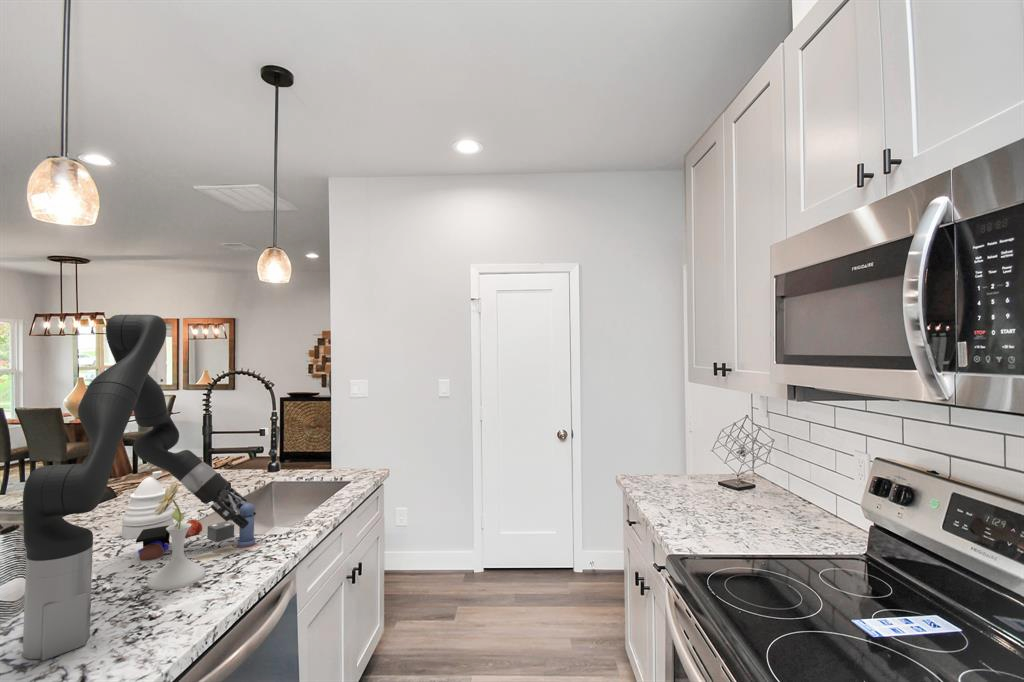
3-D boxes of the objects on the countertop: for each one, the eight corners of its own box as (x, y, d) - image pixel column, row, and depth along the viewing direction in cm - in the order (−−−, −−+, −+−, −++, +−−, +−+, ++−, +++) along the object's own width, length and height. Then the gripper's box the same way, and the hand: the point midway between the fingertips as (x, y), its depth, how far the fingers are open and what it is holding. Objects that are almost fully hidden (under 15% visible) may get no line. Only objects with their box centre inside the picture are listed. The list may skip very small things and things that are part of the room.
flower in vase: (156, 579, 120) (159, 475, 121) (210, 572, 124) (212, 471, 125) (137, 604, 108) (140, 488, 108) (197, 595, 112) (200, 483, 113)
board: (264, 550, 138) (264, 544, 138) (202, 570, 125) (202, 564, 125) (248, 544, 143) (249, 538, 143) (187, 562, 130) (188, 557, 130)
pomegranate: (186, 541, 150) (169, 532, 144) (198, 523, 153) (182, 514, 147) (201, 545, 148) (184, 536, 142) (212, 527, 151) (196, 517, 146)
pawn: (258, 544, 139) (259, 502, 139) (242, 549, 135) (243, 506, 136) (250, 540, 141) (250, 500, 142) (234, 545, 138) (235, 503, 138)
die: (233, 541, 145) (234, 523, 145) (215, 547, 140) (216, 528, 141) (225, 538, 147) (225, 520, 148) (207, 543, 143) (207, 525, 143)
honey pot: (171, 522, 162) (173, 466, 163) (174, 532, 152) (176, 473, 153) (121, 530, 155) (123, 472, 155) (121, 542, 144) (123, 479, 145)
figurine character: (141, 555, 139) (133, 568, 126) (142, 526, 140) (134, 536, 127) (170, 550, 142) (165, 562, 129) (171, 522, 143) (167, 532, 130)
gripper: (207, 478, 130) (255, 518, 133) (223, 467, 144) (265, 503, 146) (184, 500, 128) (232, 540, 131) (202, 486, 142) (245, 523, 145)
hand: (250, 521), depth 139 cm, fingers open, 8 cm apart
